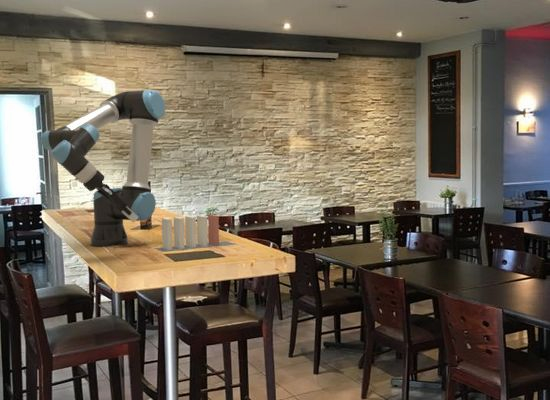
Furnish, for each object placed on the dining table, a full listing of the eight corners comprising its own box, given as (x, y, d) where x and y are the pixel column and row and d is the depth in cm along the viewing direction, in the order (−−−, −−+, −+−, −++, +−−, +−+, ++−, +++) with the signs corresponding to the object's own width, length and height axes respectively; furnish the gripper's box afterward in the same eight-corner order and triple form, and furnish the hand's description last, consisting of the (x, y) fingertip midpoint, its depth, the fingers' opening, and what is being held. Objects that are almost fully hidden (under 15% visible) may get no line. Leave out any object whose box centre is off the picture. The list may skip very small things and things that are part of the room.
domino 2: (180, 249, 240) (179, 218, 239) (174, 247, 245) (173, 217, 244) (184, 248, 241) (183, 218, 240) (178, 246, 246) (177, 216, 245)
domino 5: (214, 245, 248) (214, 216, 247) (208, 243, 253) (208, 214, 252) (218, 245, 249) (218, 215, 247) (212, 243, 254) (212, 214, 253)
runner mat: (153, 249, 242) (153, 248, 242) (225, 242, 259) (225, 241, 259) (162, 253, 234) (162, 251, 234) (236, 245, 251) (236, 244, 250)
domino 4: (203, 246, 245) (203, 216, 244) (197, 244, 250) (196, 215, 249) (207, 246, 246) (207, 216, 245) (201, 244, 251) (200, 215, 250)
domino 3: (192, 247, 242) (191, 217, 241) (185, 245, 248) (185, 216, 246) (196, 247, 243) (195, 217, 242) (190, 245, 248) (189, 215, 247)
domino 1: (168, 250, 237) (167, 219, 236) (162, 248, 242) (161, 217, 241) (172, 249, 238) (171, 219, 237) (166, 247, 243) (166, 217, 242)
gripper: (78, 183, 226) (123, 225, 236) (86, 185, 215) (134, 229, 225) (92, 168, 229) (137, 210, 239) (101, 169, 217) (148, 214, 227)
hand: (135, 219), depth 232 cm, fingers closed
